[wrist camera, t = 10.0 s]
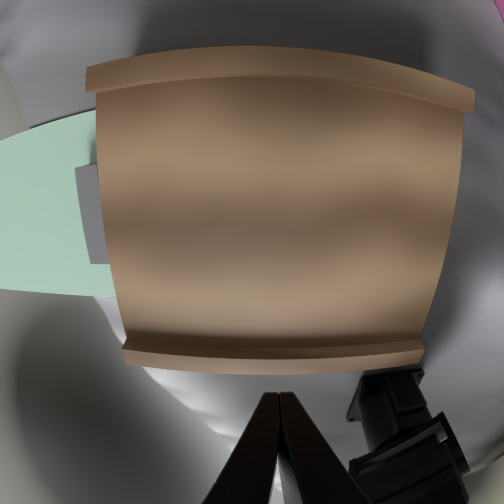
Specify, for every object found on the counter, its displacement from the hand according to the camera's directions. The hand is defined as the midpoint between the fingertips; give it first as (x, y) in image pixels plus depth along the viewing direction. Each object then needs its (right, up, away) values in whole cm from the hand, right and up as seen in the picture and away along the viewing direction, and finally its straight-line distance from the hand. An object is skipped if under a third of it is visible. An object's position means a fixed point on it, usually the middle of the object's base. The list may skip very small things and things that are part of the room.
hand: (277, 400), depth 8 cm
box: (+1, +7, +9) cm, 11 cm away
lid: (-17, +7, +10) cm, 21 cm away
